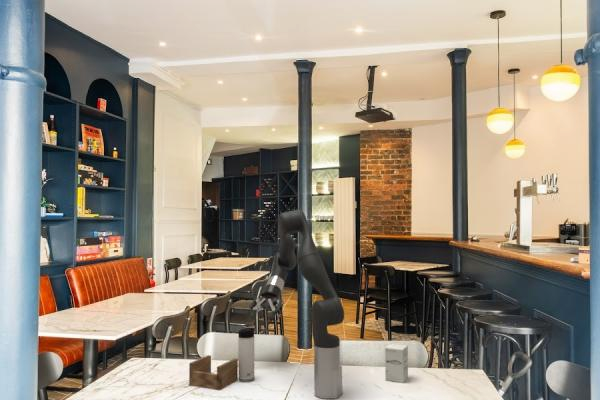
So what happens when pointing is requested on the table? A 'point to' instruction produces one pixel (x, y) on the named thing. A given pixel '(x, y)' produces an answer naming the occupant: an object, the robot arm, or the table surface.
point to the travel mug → (246, 355)
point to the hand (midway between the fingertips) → (261, 319)
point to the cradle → (204, 377)
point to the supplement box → (396, 363)
